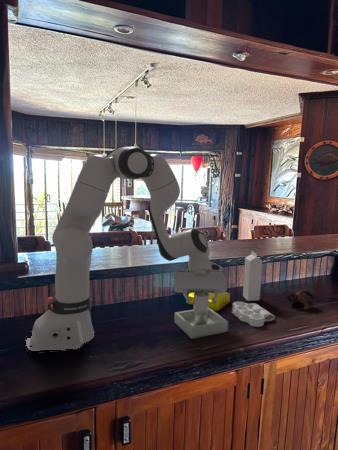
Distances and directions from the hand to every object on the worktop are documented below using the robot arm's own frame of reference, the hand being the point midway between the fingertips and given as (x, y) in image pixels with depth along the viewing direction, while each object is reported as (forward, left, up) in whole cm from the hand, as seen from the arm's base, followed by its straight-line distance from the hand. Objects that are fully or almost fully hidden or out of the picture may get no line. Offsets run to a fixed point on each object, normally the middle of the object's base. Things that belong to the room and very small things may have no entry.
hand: (201, 302), depth 124 cm
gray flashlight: (0, 0, -9) cm, 9 cm away
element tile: (+16, +20, -10) cm, 27 cm away
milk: (+37, +17, -10) cm, 42 cm away
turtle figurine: (+52, +2, -10) cm, 53 cm away
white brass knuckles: (+24, +1, -10) cm, 26 cm away
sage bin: (0, 0, -9) cm, 9 cm away
